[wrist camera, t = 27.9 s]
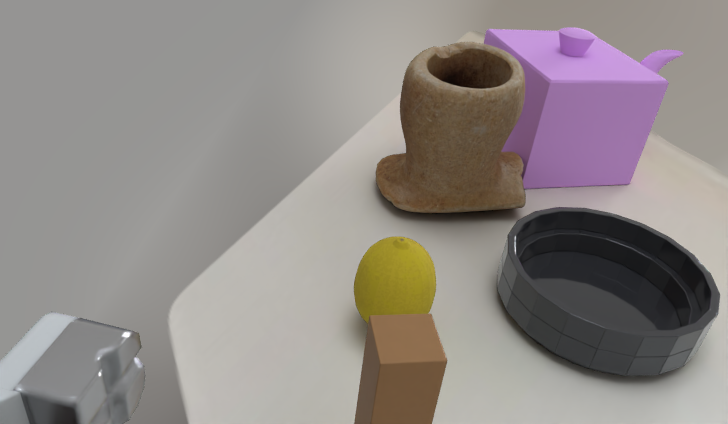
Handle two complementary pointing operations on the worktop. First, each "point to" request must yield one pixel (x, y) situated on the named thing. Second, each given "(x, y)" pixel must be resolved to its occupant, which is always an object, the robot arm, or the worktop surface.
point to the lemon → (395, 279)
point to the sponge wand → (400, 370)
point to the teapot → (581, 106)
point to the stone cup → (457, 132)
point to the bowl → (606, 291)
